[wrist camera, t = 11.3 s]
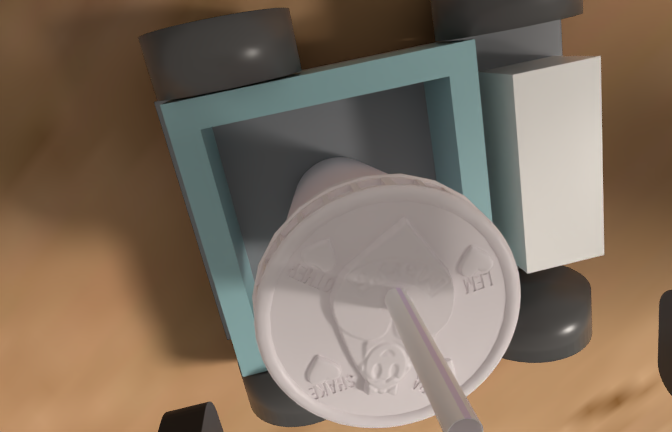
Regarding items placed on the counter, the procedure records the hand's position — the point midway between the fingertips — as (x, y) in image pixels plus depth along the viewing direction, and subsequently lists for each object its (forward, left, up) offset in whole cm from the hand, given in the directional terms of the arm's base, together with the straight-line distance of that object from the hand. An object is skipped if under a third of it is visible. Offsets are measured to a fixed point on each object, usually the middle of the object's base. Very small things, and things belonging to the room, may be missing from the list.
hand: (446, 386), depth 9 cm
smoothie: (0, 0, -13) cm, 13 cm away
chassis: (-2, 0, -14) cm, 14 cm away
